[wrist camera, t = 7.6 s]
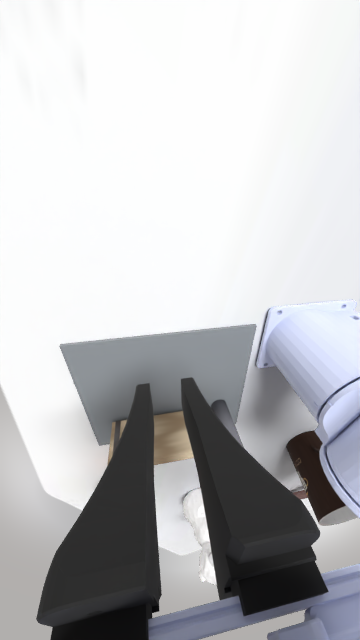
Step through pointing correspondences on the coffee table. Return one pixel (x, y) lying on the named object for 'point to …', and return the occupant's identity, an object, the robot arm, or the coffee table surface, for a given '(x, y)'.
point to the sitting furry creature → (200, 533)
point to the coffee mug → (317, 480)
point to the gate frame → (160, 373)
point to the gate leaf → (161, 438)
